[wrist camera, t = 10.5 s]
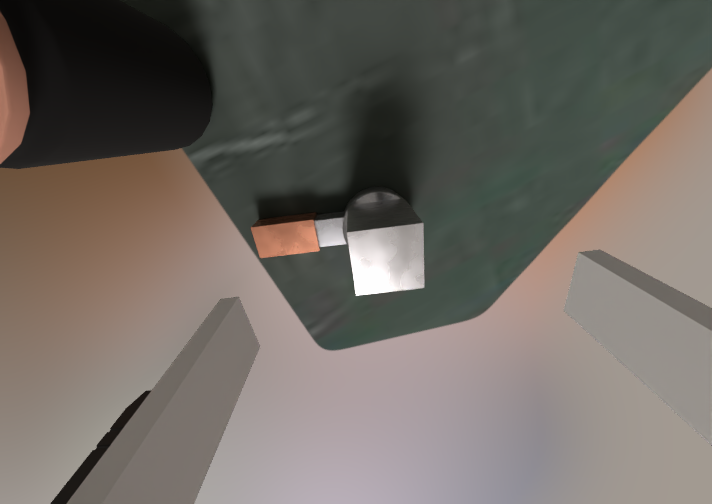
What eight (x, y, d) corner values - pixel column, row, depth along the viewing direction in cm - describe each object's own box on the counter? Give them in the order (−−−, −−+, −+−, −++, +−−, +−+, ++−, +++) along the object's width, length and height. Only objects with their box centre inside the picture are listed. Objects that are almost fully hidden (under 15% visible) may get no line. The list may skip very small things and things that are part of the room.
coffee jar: (92, 4, 23) (-543, -299, 7) (218, 40, 24) (-57, -142, 8) (111, 134, 27) (-242, 145, 11) (217, 159, 28) (39, 201, 12)
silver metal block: (347, 205, 28) (346, 232, 21) (404, 198, 28) (423, 223, 20) (355, 255, 30) (356, 295, 23) (406, 249, 30) (424, 287, 23)
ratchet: (408, 182, 30) (423, 197, 24) (410, 246, 33) (424, 273, 27) (253, 202, 31) (228, 221, 24) (271, 262, 34) (253, 293, 28)
